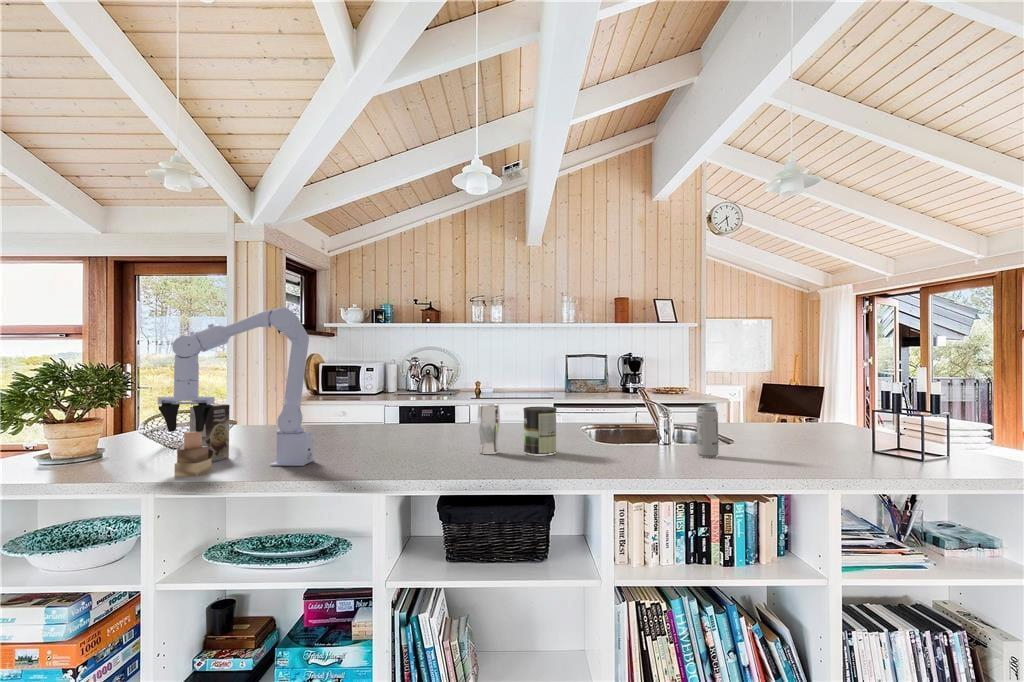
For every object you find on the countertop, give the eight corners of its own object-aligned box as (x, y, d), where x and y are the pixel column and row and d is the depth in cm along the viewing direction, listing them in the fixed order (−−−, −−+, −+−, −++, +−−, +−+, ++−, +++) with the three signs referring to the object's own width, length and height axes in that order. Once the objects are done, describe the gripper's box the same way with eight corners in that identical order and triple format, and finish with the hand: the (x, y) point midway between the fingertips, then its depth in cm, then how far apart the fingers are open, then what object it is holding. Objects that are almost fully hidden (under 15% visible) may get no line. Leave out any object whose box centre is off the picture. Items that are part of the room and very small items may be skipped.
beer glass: (499, 455, 167) (499, 406, 167) (476, 455, 167) (476, 406, 167) (500, 451, 174) (500, 404, 174) (478, 451, 174) (478, 404, 174)
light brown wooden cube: (204, 446, 144) (205, 431, 144) (196, 449, 140) (196, 433, 140) (189, 446, 144) (190, 431, 144) (180, 449, 140) (180, 433, 140)
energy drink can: (718, 459, 159) (717, 407, 160) (696, 457, 161) (695, 406, 162) (718, 455, 165) (717, 405, 165) (697, 454, 167) (697, 405, 167)
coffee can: (521, 456, 165) (521, 409, 166) (525, 450, 175) (525, 406, 176) (555, 456, 164) (555, 409, 164) (557, 450, 174) (557, 406, 174)
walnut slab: (208, 459, 144) (208, 446, 145) (194, 463, 140) (194, 449, 140) (191, 459, 145) (191, 445, 145) (177, 462, 140) (177, 449, 140)
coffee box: (207, 463, 155) (208, 406, 156) (187, 463, 156) (188, 406, 157) (230, 457, 164) (230, 404, 164) (211, 457, 165) (212, 403, 166)
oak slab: (211, 472, 145) (211, 459, 145) (197, 477, 139) (197, 463, 139) (189, 472, 145) (189, 458, 145) (174, 477, 139) (174, 463, 139)
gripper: (221, 379, 150) (220, 429, 150) (170, 380, 151) (169, 429, 151) (205, 381, 143) (205, 433, 143) (152, 381, 144) (151, 432, 144)
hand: (185, 431), depth 146 cm, fingers open, 7 cm apart
